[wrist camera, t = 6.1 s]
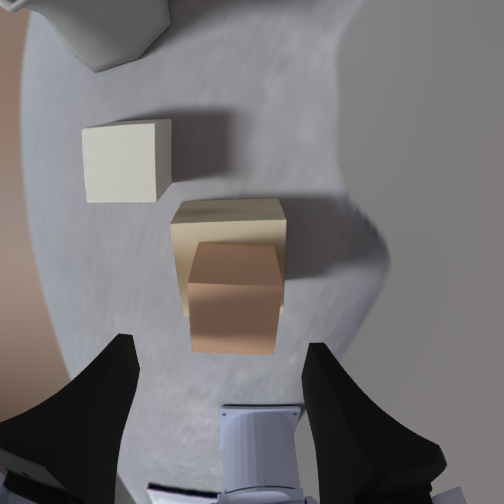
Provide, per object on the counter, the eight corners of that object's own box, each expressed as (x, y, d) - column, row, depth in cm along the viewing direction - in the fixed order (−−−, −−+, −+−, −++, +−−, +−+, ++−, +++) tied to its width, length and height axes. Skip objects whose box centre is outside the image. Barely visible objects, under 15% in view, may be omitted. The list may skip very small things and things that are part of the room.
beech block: (276, 279, 23) (283, 314, 19) (191, 282, 23) (183, 316, 19) (277, 197, 20) (286, 219, 16) (182, 200, 20) (170, 223, 16)
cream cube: (172, 182, 19) (156, 202, 16) (113, 183, 19) (87, 202, 15) (172, 118, 17) (154, 123, 14) (110, 122, 17) (81, 128, 14)
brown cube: (267, 307, 19) (273, 354, 15) (199, 304, 19) (191, 351, 15) (274, 245, 17) (283, 286, 13) (198, 242, 17) (187, 282, 13)
